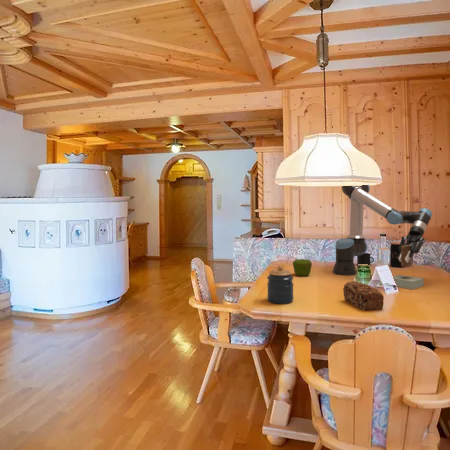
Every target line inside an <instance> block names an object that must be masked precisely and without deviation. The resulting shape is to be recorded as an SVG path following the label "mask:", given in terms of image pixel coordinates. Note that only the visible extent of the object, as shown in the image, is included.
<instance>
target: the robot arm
mask: <svg viewBox="0 0 450 450" xmlns="http://www.w3.org/2000/svg"><path fill="white" fill-rule="evenodd" d="M370 189H371V188H370V185H362V186H342V185H341V191H342V193H343V194H344V195H345V196H347V197H348V200H350V201H349V202H350V209H349V210H350V212H349V213H350V217H349V235H348V236H346V238H340V239H337V240H336V242H335V262H334V265H333V268H332V273H333V274H335V275H340V276H354V275H357V269H356V266H355V263H354V260H355V259H354V258H355V257H357V256H360V255H362V254H364V253H367V251H368V243H367V241H366V237H365V236H364V235H363V229H364V207H366V208H368V209H370V210H372V211H374V212H375V213H376V214H378V215H379V216H381V217H383V218H385V219H386V220H387V222H388V223H389V224H390V225H394V226H396V225H402V224H412V225H411V227H410V228H409V231H408V234H407V235H406V236H405V237H404V236H401V240H400V242H401V243H400V245H399V248H398V249H399V251H400V254H399V255H400V257H399V261H400V262H401V246H404V245H411V246H412V247H411V251H409V252H408V254H407V256H406V258H405V261H406V263H408V261H409V259H410V258H411V257H412V258H413V256H414V254H418V253H419V252H420V250H421V248H422V246H423V245H424V243H426V238H424V237H423V236H424V234H425V232H426V230H427V227H428V226H429V223H430V221H431V220H432V216H433V212H432V211H431V209H429V208H426V207H424V208H420V209H419V210H418V211H410V210H409V211H408V210H407V211H406V210H397V209H395V208H394V207H393V206H390V205H389V204H387V203H386V202H384V201H382V200H380V199H379V198H378V197H376V196H374V195H372V194H370V193H369V192H370Z"/></svg>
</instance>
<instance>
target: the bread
mask: <svg viewBox="0 0 450 450" xmlns="http://www.w3.org/2000/svg"><path fill="white" fill-rule="evenodd" d="M342 290H343V296H344V297H343V299H344V301H346V302H348V303H349V304H350V305H352V306H354V307H356V308H359V309H361V310H363V311H372V310H375V311H378V310H383V309H384V304H385V302H384V294H383V293H382V292H381V291H380V290H378V289H377V288H375V287H374V286H372V285H369V284H367V283H364V282H359V281H358V280H357V281H354V280H353V281H347V282H346V283H344V285H343V289H342Z"/></svg>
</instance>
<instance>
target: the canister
mask: <svg viewBox="0 0 450 450" xmlns="http://www.w3.org/2000/svg"><path fill="white" fill-rule="evenodd" d="M268 274H269V275H267V276H266V277H267V281H268V282H267V294H266V296H267V297H266V298H267V301H268V302H269V303H272V304H279V305H280V304H281V305H286V304H290V303H291V304H292V302H293V301H294V283H293V279H294V276H292V272H291V271H290V270H289V269H285V268H283V266H282V265H278V266H277V268H275V269H272V270H270V271H268Z"/></svg>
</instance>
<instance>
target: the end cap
mask: <svg viewBox="0 0 450 450" xmlns="http://www.w3.org/2000/svg"><path fill="white" fill-rule="evenodd" d="M393 279H394V281H395V283H396V285H397V286H398V287H397V288H402V289H409V290H415V289H419V288H421V287H424V285H425V284H424V281H425V280H424V278H423V277H417V276H410V275H404V274H397V275H393Z"/></svg>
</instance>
